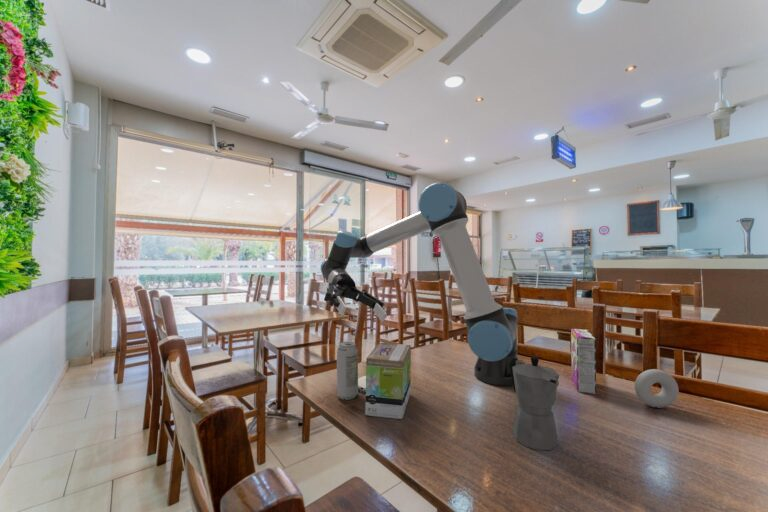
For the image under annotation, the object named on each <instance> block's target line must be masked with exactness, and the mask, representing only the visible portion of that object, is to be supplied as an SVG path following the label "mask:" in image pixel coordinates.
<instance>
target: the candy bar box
mask: <svg viewBox="0 0 768 512" xmlns="http://www.w3.org/2000/svg"><path fill="white" fill-rule="evenodd" d="M570 331H571V332H570V337H571V339H570V340H571V341H570V342H571V345H570V346H571V349H570V352H571V357H570V358H571V380H572V382H573V383H574V386H575V388H576V390H577V392H578V393H581V392H582V394H589V393H590V394H591V395H597V367H596V366H597V360H596V359H597V353H596V351H597V350H596V348H597V347H596V346H597V345H596V341H597V340H596V338H595V336H594V335H593V334H592V333H591V332H590V331H589V330H588V329H581V328H571V329H570Z"/></svg>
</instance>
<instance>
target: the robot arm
mask: <svg viewBox="0 0 768 512" xmlns="http://www.w3.org/2000/svg"><path fill="white" fill-rule="evenodd" d="M467 207H468V204H467V200H466V198H465V196H464V195H463V194H462V193H461V192H459V191H458V190H456V189H455V188H454V187H453V186H452V185H450V184H448V183H444V182H434V183H432V184H429V185H428V186H427V187H425V188H424V190H423V191H421V194H420V196H419V198H418V210H419V211H418V212H415V213H413V214H411V215H409V216H406V217H404V218H402V219H399V220H398V221H395V222H393V223H391V224H389V225H386V226H383V227H382V228H379V229H377V230H375V231H373V232H369V233H368V234H366V235H364V236H362V237H359V238H358V236H357V235H356V234H354V233H353V232H349V231H347V230H338V232H337V234H336V235H335V238H334V239H333V244H332V246H331V249H330V251H329V255H328V257H327V258H326V259H324V260H323V261H322V262H321V264H320V271H321V274H322V277H323V278H324V279H325V280H326V281H327V284H328V285H327V288H326V293H325V295H324V299H323V301H325V302H329V304H328V305H329V306H333V307H334V308H336V310H337V311H338V313H339V314H340V316H344V315H345V312H346V310H347V308H348V307H347V305H346V304H345V302H344V301H343V299H344V298H346V299H350V300H353V301H355V302H357V303H361V304H363V305H365V306H366V307H368V308H370V309H372V311H373V313H374V314H375V315H376V316H377V318H378V319H379V320H380V321H381V322H382V323H383V322H384V321H385V319H386V317H387V312H386V311H385V309H383V307H384V305H385V303H384V302H383V301H381V300H379V299H378V298H377V297H376V296H374V295H372V294H370V293H369V292H368V291H367V290H366V289H362V291H361V290H360V289H358V288H357V286H356V282H355V281H354V279H353V278H352V277H351V275H350V274H349V273H348V272H347V270H346V269H347V267H348V264H349V261H350V259H351V258H355V259H356V258H357V259H358V258H362V259H366V258H369V257H371V256H372V255H374V253H376V252H379V251H382V250H384V249H387V248H389V247H392V246H394V245H397V244H398V243H401V242H403V241H406V240H409V239H411V238H413V237H415V236H418V235H421V234H423V233H425V232H429V231H431V234H432V235H434V236H436V237H438V239H439V240H440V243H441V247H442V249H443V251H444V254H445V258H446V259H447V262H448V265H449V268H450V270H451V273H452V276H453V279H454V281H455V284H456V286H457V289H458V292H459V295H460V298H461V300H462V302H463V305H464V309H465V314H464V316H463V320H464V323H465V325H466V328H467V331H468V332H467V343H468V347H469V348H470V350H471V352H472V353H473V354H474V355H475V356H476V357H477V359H476V362H475V365H474V369H473V370H474V373H473V374H474V376H475V378H477V380H479V381H481V382H483V383H487V384H489V385H494V386H504V387H505V386H506V387H510V386H511V387H513V383H512V378H511V372H510V368H509V362H510V361H511V360H512V359H513V358H517V359H518V360H520V359H519V356H518V319H519V316H518V312H517V310H516V309H515V308H512V307H503V305H501V304H499V303H498V302H496V301H495V300H494V296H493V293H492V292H491V288H490V286H489V283H488V280H487V279H486V276H485V272H484V270H483V268H482V266H481V263H480V260H479V257H478V255H477V252H476V250H475V247H474V245H473V241H472V239H471V237H470V234H469V232H468V230H467V224H468V222H469V218H468V215H467V209H468V208H467ZM333 292H334V293H333ZM332 293H333V294H332Z"/></svg>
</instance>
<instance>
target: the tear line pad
mask: <svg viewBox="0 0 768 512" xmlns="http://www.w3.org/2000/svg"><path fill="white" fill-rule="evenodd" d="M359 387H360V388H359ZM361 388H363V389H361ZM365 389H366V374H365V375H363V376H361V377H358V392H360V391H361V393H362V392H363V393H362V394H366V393H365V392H366V390H365ZM359 390H360V391H359Z"/></svg>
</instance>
